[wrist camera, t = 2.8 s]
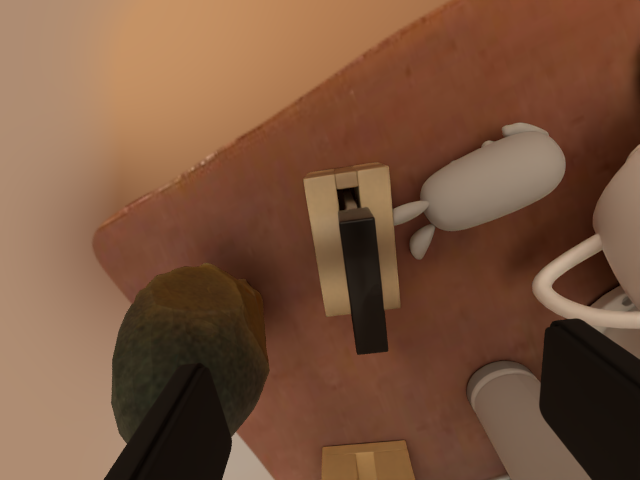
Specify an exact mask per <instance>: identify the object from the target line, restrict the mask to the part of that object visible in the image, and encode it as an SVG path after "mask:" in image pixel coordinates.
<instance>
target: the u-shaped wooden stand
mask: <svg viewBox="0 0 640 480" xmlns="http://www.w3.org/2000/svg"><path fill="white" fill-rule="evenodd" d="M322 480H415V477H414V473H413V469H412V465H411V461H410V457H409V453H408V450H407V445H406V441H405V440H401V441H389V442H377V443H365V444H352V445H340V446H328V447H323V448H322Z"/></svg>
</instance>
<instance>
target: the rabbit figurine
mask: <svg viewBox="0 0 640 480" xmlns="http://www.w3.org/2000/svg"><path fill="white" fill-rule="evenodd" d="M502 132H503V133H502V134H503V136H504V137H505V138H503V139H500V140H498V141H495V142H494V141H486V142H484V143H483V144H482V146H481V148H479V149H477V150H475V151H473V152H471V153H469V154H467V155H465V156H463V157H461V158H459V159H458V160H454V161H452V162H451V163H450V164H448V165H447V166H445V167H443V168H442V169H440V170H439V171H437V172H436V173H434V174H433V175H432V176H430V177H429V178H428V179H427V180H426V182H425V183H424V184H423V187H422V189H421V193H420V201H416V202H411V203H407V204H404V205H401V206H399V207H396V208H394V209H393V221H394V226H395V225H399V224H402V223H404V222H407V221H409V220H411V219H413V218H415V217H417V216H418V215H420V214H421V213H422V212H424V214H425V216H426V217H427V219H428V220H429V221H430V222H431V223H432V224H429V225H427V226H424V227H422V228H420V229H419V230H418V231H416V232H415V233H414V234H413V235H412V237H411V239H410V244H409V245H410V251H411V253H412V255H413V256H414V257H415V258H416V259H422V258H423V257H424V255H425V253H426V251H427V249H428V247H429V244H430V242H431V240H432V237H433V234H434V231H435V226H436V227H437V228H439V229H441V230H445V231H458V230H464V229H467V228H471V227H474V226H477V225H480V224H483V223H486V222H489V221H492V220H495V219H497V218H500V217H502V216H505V215H507V214H510V213H512V212H515V211H517V210H519V209H521V208H524V207H526V206H528V205H530V204H532V203H534V202H536V201H538V200H540V199H541V198H543V197H545V196H546V195H548V194H549V193H551V192H552V191H553V190H554V189H555V188H556V187H557V186H558V184H559V183H560V182H561V180H562V178H563V176H564V173H565V167H566V163H565V157H564V154H563V152H562V150H561V149H560V147H559V146H558V144H557V143H556V142H555V141H554V140H553V139H552V138H550V137H549V134H548V132H547V131H545V130H543V129H541V128H539V127H536V126H533V125H530V124H526V123H515V124H512V125H506V126H504V127H503V128H502Z"/></svg>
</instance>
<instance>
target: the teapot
mask: <svg viewBox="0 0 640 480" xmlns="http://www.w3.org/2000/svg"><path fill="white" fill-rule="evenodd" d="M593 228H594V231H595V233H596V234H595V235H593V236H591V237H590V238H588V239H586V240H585V241H583V242H581V243H580V244H578V245H576V246H575V247H573V248H572V249H570V250H568V251H567V252H565V253H563V254H562V255H560V256H559V257H557V258H556V259H554V260H553V261H552V262H550V263H549V264H548V265H546V266H545V267H544V268H543V269H542V270H541V271H540V272H539V273H538V274H537V275H536V276H535V277H534V280H533V282H532V291H533V294H534V295H535V297H536V298H537V300H538V301H540V302H541V303H542V304H543V305H544V306H545V307H546V308H548V309H549V310H551V311H553V312H554V313H556V314H558V315H560V316H562V317H565V318H567V319H574V318H578V319H581V320H583V321H585V322H586V323H588V324H589V325H595V326H600V327H611V328H628V329H640V311H633V312H626V311H610V310H603V309H597V308H593V307H589V306H585V305H582V304H579V303H576V302H573V301H571V300H569V299H566V298H564V297H563V296H561V295H559V294H558V293H556V292H555V291H554V290H553V288H552V284H553V283H554V281H555V280H556V279H557V278H558V277H560V276H561V275H562V274H563V273H565V272H566V271H568V270H569V269H571V268H573V267H574V266H576V265H577V264H579V263H581V262H582V261H584V260H586V259H587V258H589V257H591V256H593V255H594V254H596V253H598V252H600V251H601V250H603V252H604V254H605V256H606V258H607V261H608V263H609V265H610V267H611V269H612V271H613V273H614V275H615V277H616V278H617V280H618V282H619V283H620V285H621V287H622V288H623V290H624V291H625V293H626V294H627V296H628V297H629V298H630V300H631V301H632V302H633V303H634V304H635V306H636V307H637V308H638V309H639V310H640V144H639V145H638V146H637V147H636V148H635V149H634V150H633V151H632V152H631V153H630V155H629V156H628V158H627V159H626V162H625V164H624V165H623V166H622V167H621V168H620V170H619V171H618V172H617V173H616V174H615V175H614V177H613V178H612V179H611V181H610V182H609V184H608V185H607V186H606V188H605V189H604V191H603V193H602V194H601V196H600V198H599V200H598V202H597V204H596V207H595V210H594V213H593Z"/></svg>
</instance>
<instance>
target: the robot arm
mask: <svg viewBox="0 0 640 480" xmlns="http://www.w3.org/2000/svg"><path fill="white" fill-rule="evenodd" d="M590 307H593V308H597V309H603V310H610V311H626V312H633V311H640V310H639V309H638V308H637V307H636V306H635V304H634V303H633V302H632V301H631V300H630V298H629V297H628V296H627V294H626V293H625V291H624V290H623V288H622V287H621V286H618V287H616V288H615V289H613V290H611V291H610V292H608V293H607V294H605V295H603V296H602V297H601V298H600V299H598V300H597V301H596V302H595V303H594V304H592V305H591V306H590ZM539 409H540V412H541V415H542V416H543V418H544V420H545V421H546V423H547V424H548V425H549V426H550V428H551V429H552V430H553V431H554V433H555V434H556V435H557V436H558V438H559V439H560V440H561V442H562V443H563V444H564V445H565V447H566V448H567V449H568V450H569V452H570V453H571V454H572V455H573V457H574V458H575V459H576V461H577V462H578V463H579V464H580V466H581V467H582V468H583V469H584V471H585V472H586V473H587V474H588V476H589V477H590V478H591V480H640V329H628V328H611V327H600V326H595V325H589V324H588V323H586V322H585V321H583V320H581V319H578V318H574V319H566V320H557V321H553V322H552V323H551V324H550V327H548V328H547V329H546V330H545V338H544V350H543V362H542V374H541V386H540V398H539ZM231 446H232V438H231V434H230V431H229V428H228V425H227V422H226V418H225V415H224V412H223V409H222V406H221V403H220V400H219V397H218V393H217V390H216V387H215V384H214V381H213V378H212V375H211V372H210V369H209V368H208V367H204V365H203V364H202V363H193V364H184V365H180V366H179V367H178V368H177V369H176V371H175V372H174V374H173V375H172V377H171V378H170V380H169V381H168V383H167V384H166V386H165V387H164V389H163V390H162V392H161V393H160V395H159V396H158V398H157V399H156V401H155V402H154V404H153V406H152V407H151V409H150V410H149V412H148V413H147V415H146V416H145V418H144V419H143V421H142V422H141V424H140V425H139V427H138V428H137V430H136V431H135V433H134V434H133V436H132V437H131V439H130V440H129V442H128V443H127V445H126V447H125V448H124V449H123V451H122V453H121V454H120V456H119V457H118V459H117V460H116V462H115V463H114V465H113V466H112V468H111V469H110V471H109V472H108V474H107V476H106V477H105V478H104V480H222V478H223V474H224V471H225V468H226V465H227V461H228V458H229V455H230V452H231Z"/></svg>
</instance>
